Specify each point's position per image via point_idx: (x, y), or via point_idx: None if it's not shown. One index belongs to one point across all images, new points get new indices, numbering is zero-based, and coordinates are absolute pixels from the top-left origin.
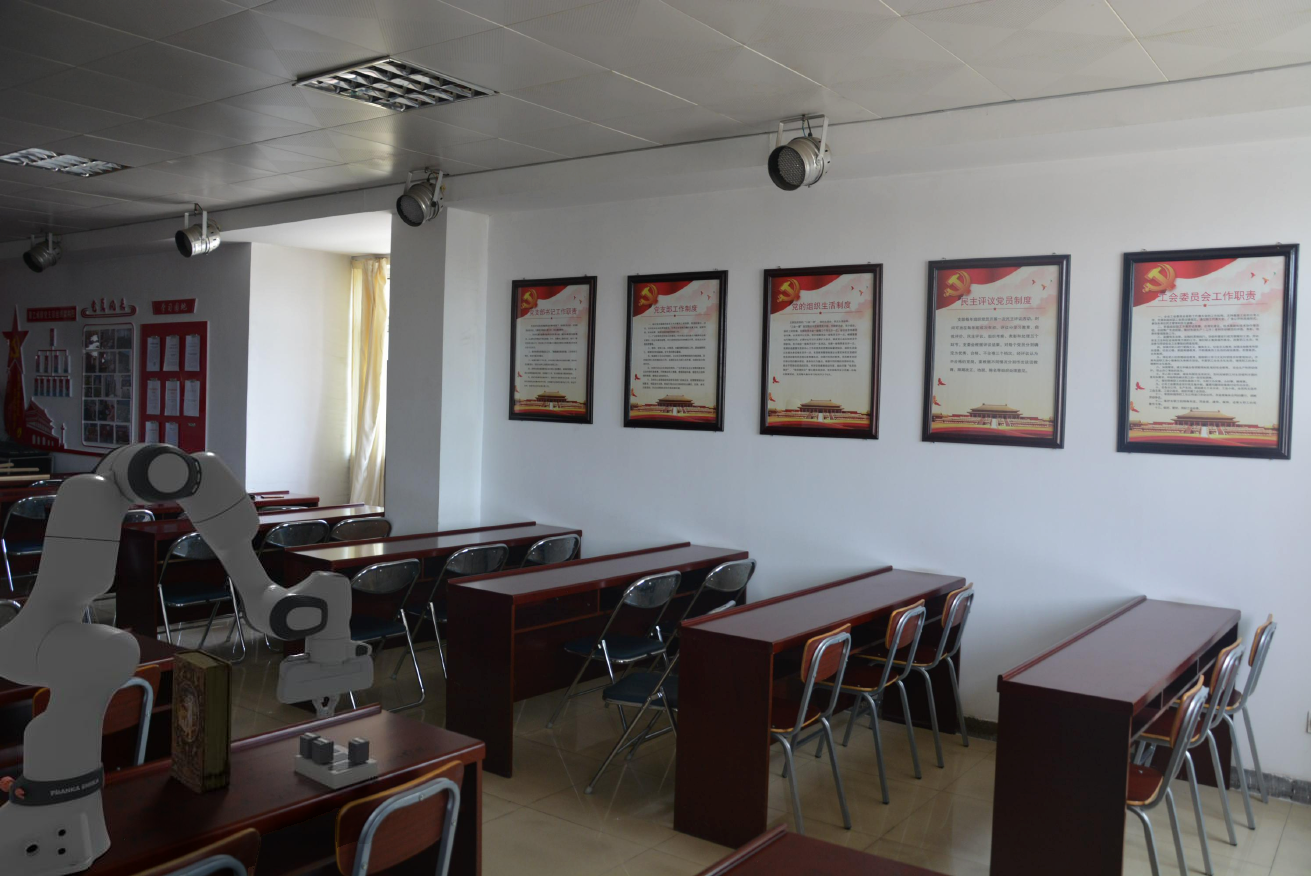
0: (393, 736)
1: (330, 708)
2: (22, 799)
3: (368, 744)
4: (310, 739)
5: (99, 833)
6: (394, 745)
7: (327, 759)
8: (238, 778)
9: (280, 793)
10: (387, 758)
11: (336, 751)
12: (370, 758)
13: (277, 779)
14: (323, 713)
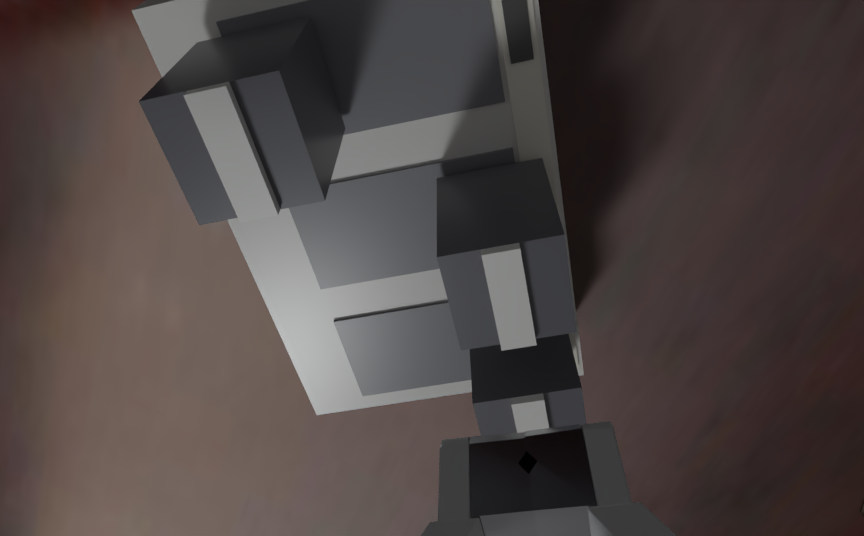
0: (6, 461)
1: (487, 519)
2: None
3: (159, 85)
4: (555, 384)
5: None
6: (9, 369)
7: (484, 178)
8: (824, 355)
9: (815, 43)
10: (65, 228)
11: (355, 324)
12: None
13: (699, 255)
14: (590, 464)
